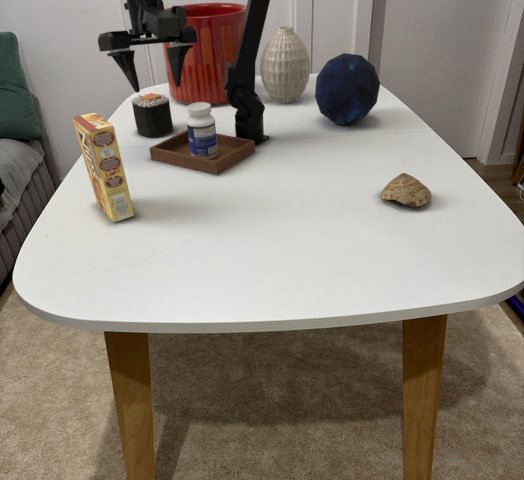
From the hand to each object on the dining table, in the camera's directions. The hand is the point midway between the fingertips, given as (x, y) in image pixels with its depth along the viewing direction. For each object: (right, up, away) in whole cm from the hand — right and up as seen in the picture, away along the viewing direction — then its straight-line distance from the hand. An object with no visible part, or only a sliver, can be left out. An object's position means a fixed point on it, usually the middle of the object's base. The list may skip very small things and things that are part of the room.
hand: (158, 89), depth 101 cm
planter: (+7, +19, +41) cm, 46 cm away
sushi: (-5, 0, +20) cm, 21 cm away
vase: (+27, +15, +35) cm, 47 cm away
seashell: (+46, -26, -12) cm, 54 cm away
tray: (+8, -10, +7) cm, 15 cm away
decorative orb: (+40, +3, +20) cm, 45 cm away
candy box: (-5, -27, -11) cm, 30 cm away
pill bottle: (+9, -11, +6) cm, 15 cm away
